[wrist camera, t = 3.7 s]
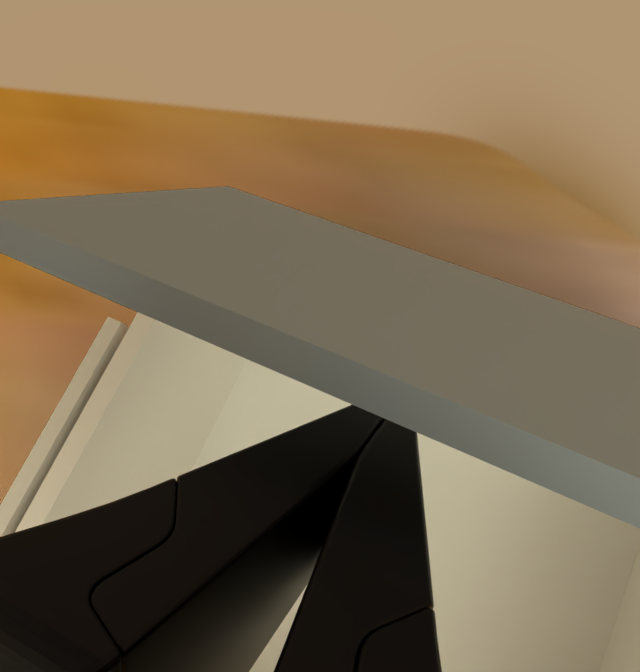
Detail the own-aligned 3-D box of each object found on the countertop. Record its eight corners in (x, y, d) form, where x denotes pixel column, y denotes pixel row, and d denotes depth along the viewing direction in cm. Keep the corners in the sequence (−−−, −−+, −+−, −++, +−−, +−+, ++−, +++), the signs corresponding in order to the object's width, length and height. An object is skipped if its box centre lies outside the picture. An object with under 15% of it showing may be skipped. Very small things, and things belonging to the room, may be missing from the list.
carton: (532, 1031, 15) (624, 1439, 8) (43, 699, 19) (-162, 789, 12) (705, 467, 18) (871, 427, 11) (254, 289, 22) (182, 184, 15)
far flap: (1053, 707, 5) (1096, 665, 5) (-35, 238, 8) (-32, 202, 8) (787, 407, 11) (801, 384, 11) (224, 206, 15) (228, 185, 14)
